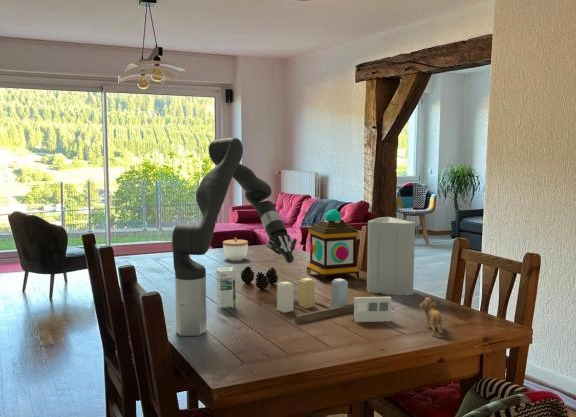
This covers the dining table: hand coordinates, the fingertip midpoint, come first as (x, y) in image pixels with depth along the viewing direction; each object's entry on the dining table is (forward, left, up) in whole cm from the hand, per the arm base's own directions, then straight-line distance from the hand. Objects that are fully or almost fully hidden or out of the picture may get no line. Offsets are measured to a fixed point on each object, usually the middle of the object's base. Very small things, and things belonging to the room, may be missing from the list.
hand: (291, 261), depth 208 cm
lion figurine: (-38, -41, -15) cm, 58 cm away
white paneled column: (+11, -38, -15) cm, 43 cm away
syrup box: (-11, +24, -15) cm, 30 cm away
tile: (-28, -24, -14) cm, 40 cm away
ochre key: (-13, -4, -13) cm, 19 cm away
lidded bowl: (+77, +22, -15) cm, 81 cm away
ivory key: (-18, +3, -13) cm, 22 cm away
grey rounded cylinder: (-15, -16, -13) cm, 25 cm away
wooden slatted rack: (-17, -6, -14) cm, 23 cm away
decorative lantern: (+36, -21, -15) cm, 44 cm away
